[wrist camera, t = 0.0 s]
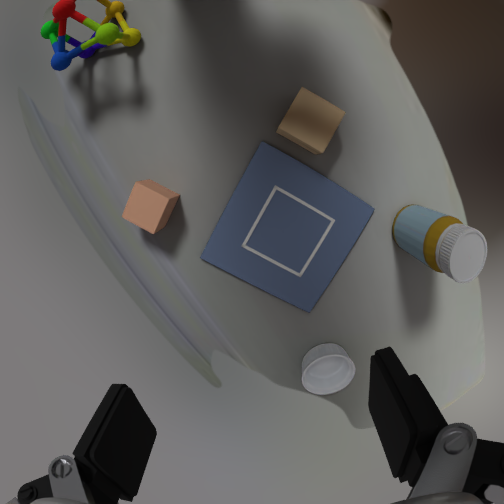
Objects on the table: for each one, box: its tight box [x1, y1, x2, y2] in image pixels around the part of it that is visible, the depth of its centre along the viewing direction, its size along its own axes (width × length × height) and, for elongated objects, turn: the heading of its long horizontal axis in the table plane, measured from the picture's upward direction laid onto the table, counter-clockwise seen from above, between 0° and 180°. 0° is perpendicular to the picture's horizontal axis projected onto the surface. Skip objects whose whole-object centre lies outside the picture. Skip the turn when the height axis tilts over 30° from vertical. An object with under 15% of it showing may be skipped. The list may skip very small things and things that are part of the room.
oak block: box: [276, 87, 346, 155], centre depth 33 cm, size 6×6×5 cm
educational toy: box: [41, 0, 141, 71], centre depth 25 cm, size 16×13×15 cm
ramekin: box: [302, 343, 355, 395], centre depth 44 cm, size 9×9×4 cm
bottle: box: [392, 205, 487, 283], centre depth 32 cm, size 7×7×15 cm
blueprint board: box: [200, 141, 374, 312], centre depth 39 cm, size 18×18×1 cm
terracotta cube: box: [122, 179, 180, 234], centre depth 37 cm, size 5×5×5 cm
